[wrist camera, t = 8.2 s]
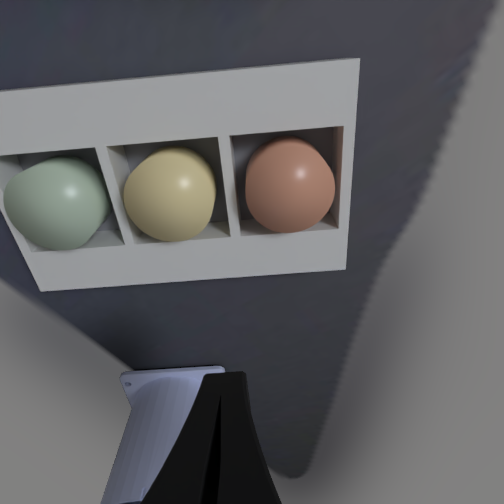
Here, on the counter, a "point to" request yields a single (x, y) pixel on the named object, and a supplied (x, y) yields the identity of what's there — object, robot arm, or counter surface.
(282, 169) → the terracotta button
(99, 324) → the counter surface
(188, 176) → the mustard button
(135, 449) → the robot arm
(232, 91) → the console
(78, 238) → the sage button
